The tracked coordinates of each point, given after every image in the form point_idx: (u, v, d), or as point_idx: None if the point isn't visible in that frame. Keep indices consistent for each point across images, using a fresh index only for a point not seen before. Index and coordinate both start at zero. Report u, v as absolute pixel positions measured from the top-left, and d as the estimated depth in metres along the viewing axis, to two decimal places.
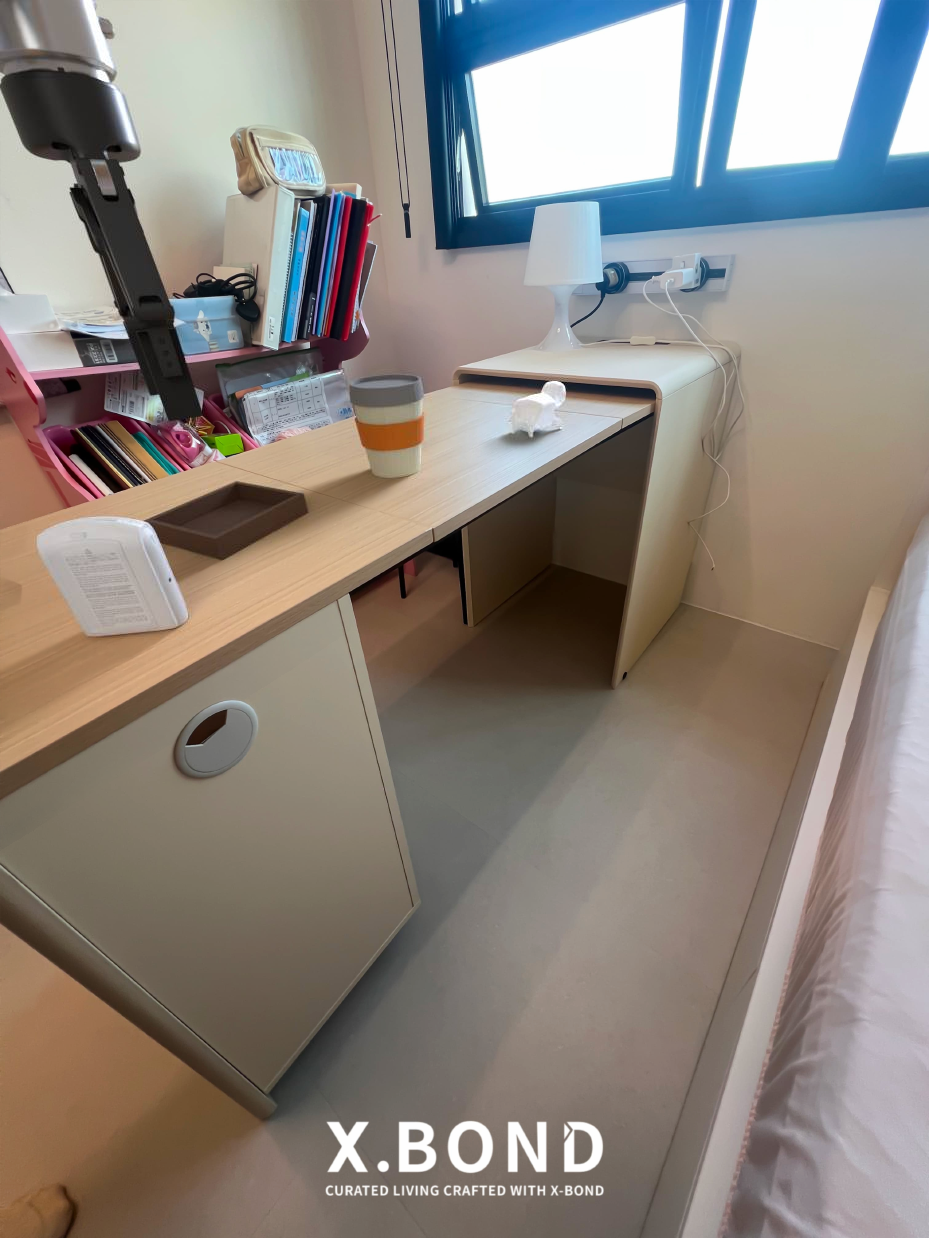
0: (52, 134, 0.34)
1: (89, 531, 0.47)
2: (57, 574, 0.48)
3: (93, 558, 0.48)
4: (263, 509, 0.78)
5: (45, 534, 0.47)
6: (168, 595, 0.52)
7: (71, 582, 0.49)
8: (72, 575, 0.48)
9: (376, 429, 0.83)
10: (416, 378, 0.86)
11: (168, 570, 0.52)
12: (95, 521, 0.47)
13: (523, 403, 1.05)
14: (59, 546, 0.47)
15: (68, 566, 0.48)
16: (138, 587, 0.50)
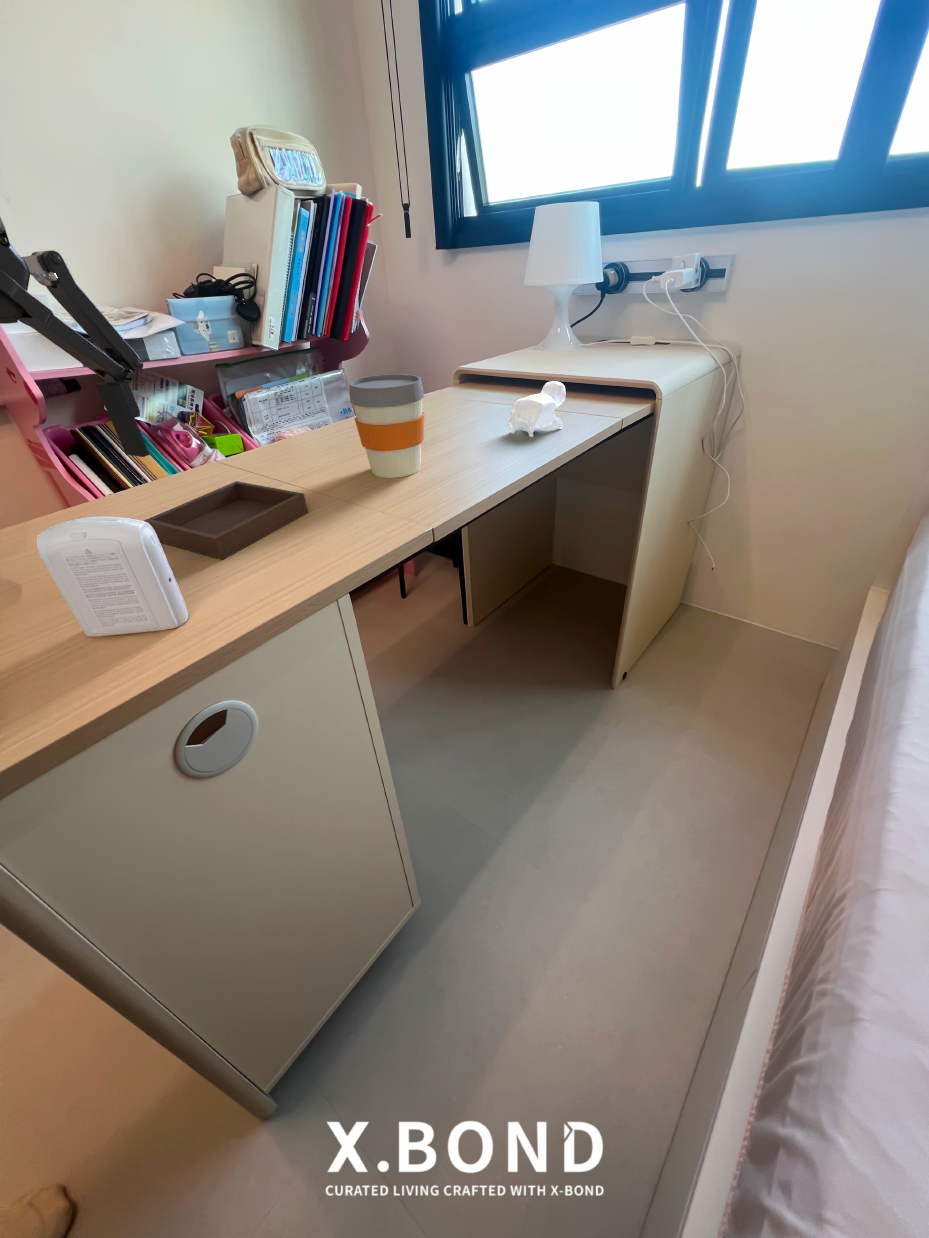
0: None
1: (89, 531, 0.47)
2: (57, 574, 0.48)
3: (93, 558, 0.48)
4: (263, 509, 0.78)
5: (45, 534, 0.47)
6: (168, 595, 0.52)
7: (71, 582, 0.49)
8: (72, 575, 0.48)
9: (376, 429, 0.83)
10: (416, 378, 0.86)
11: (168, 570, 0.52)
12: (95, 521, 0.47)
13: (523, 403, 1.05)
14: (59, 546, 0.47)
15: (68, 566, 0.48)
16: (138, 587, 0.50)
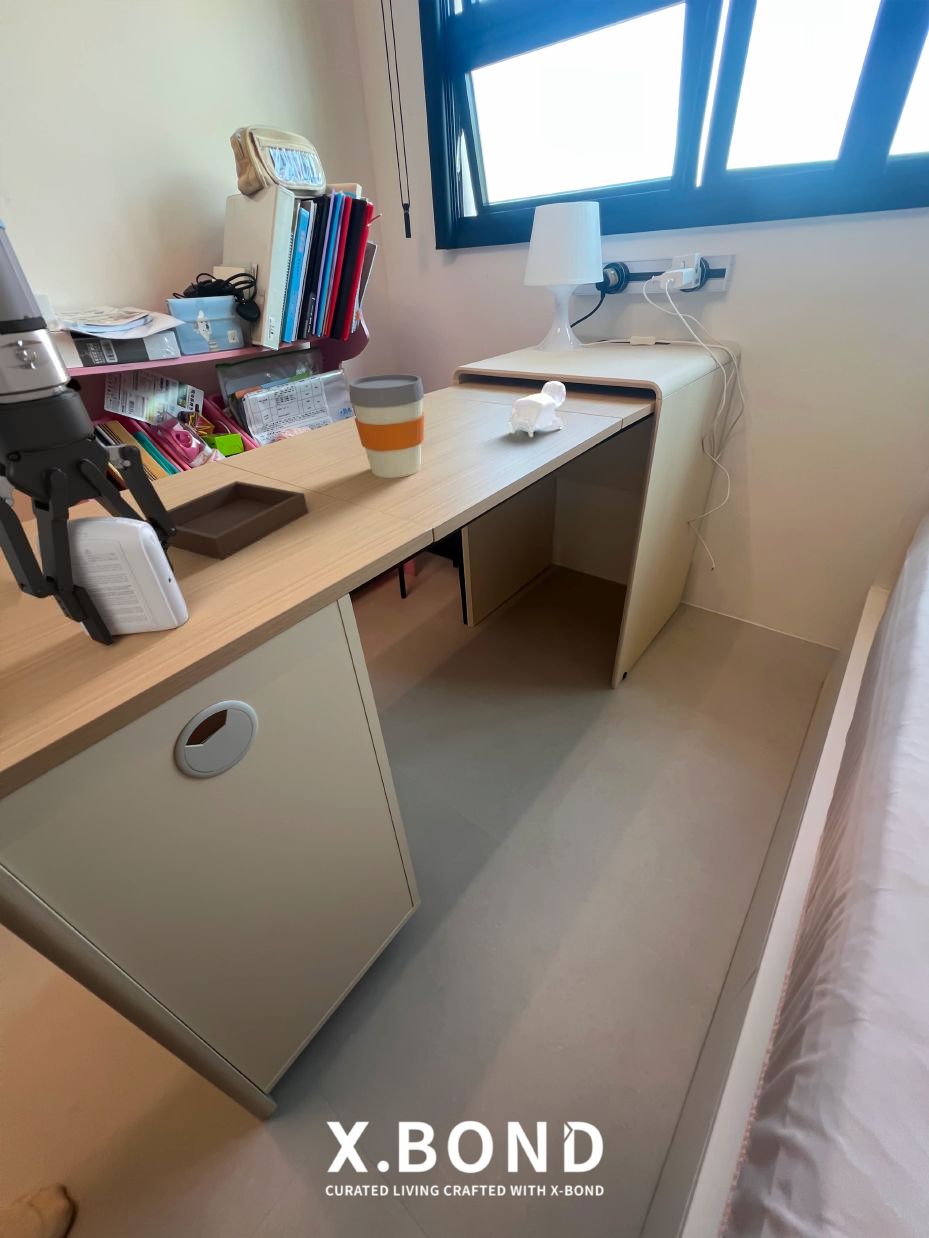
0: None
1: (89, 531, 0.47)
2: None
3: (93, 558, 0.48)
4: (263, 509, 0.78)
5: None
6: (168, 595, 0.52)
7: None
8: (72, 576, 0.48)
9: (376, 429, 0.83)
10: (416, 378, 0.86)
11: (168, 570, 0.52)
12: (95, 521, 0.47)
13: (523, 403, 1.05)
14: None
15: None
16: (137, 587, 0.50)
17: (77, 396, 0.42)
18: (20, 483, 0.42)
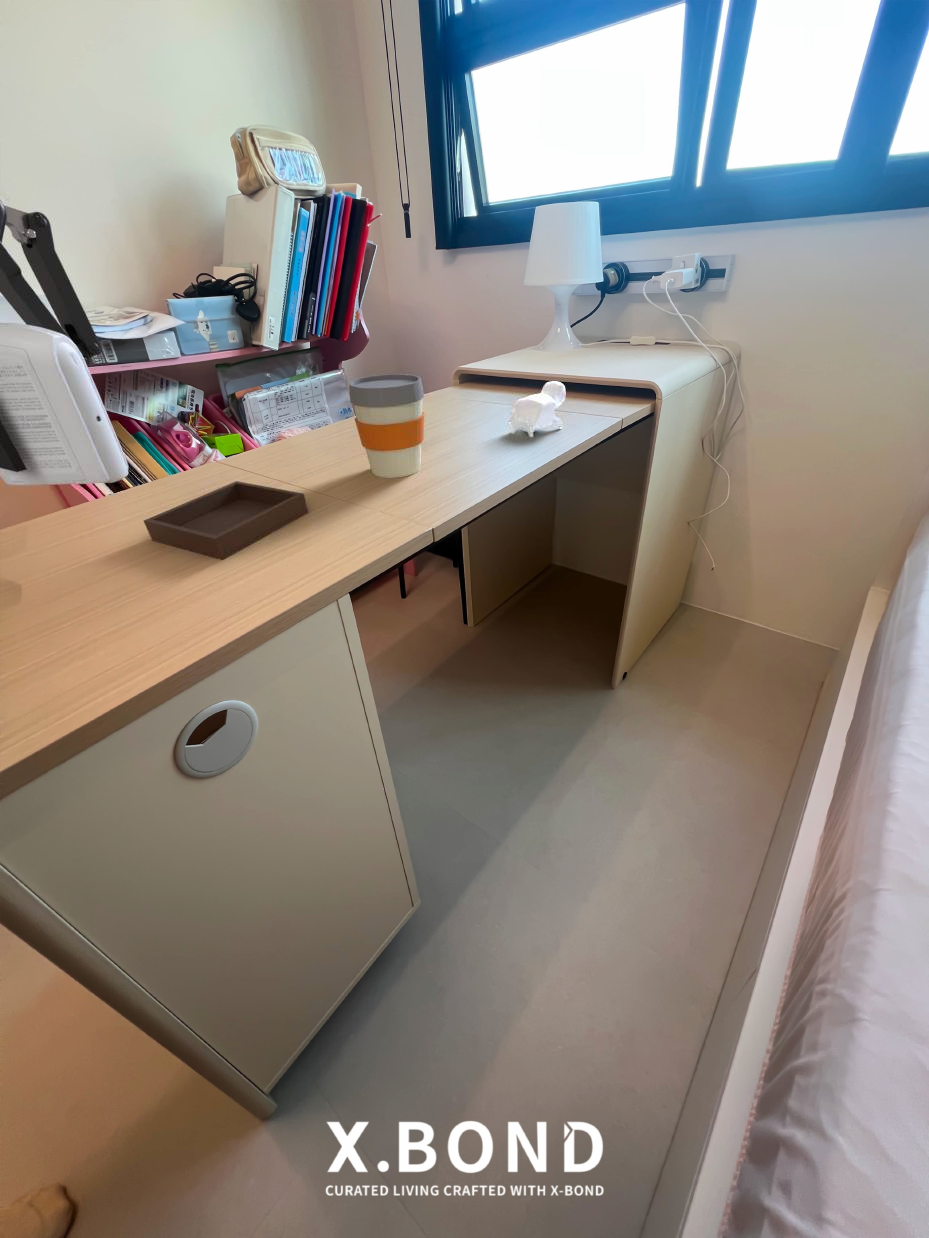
0: None
1: None
2: None
3: None
4: (263, 509, 0.78)
5: None
6: (96, 437, 0.43)
7: None
8: None
9: (376, 429, 0.83)
10: (416, 378, 0.86)
11: (97, 406, 0.42)
12: (0, 324, 0.38)
13: (523, 403, 1.05)
14: None
15: None
16: (54, 419, 0.41)
17: None
18: None
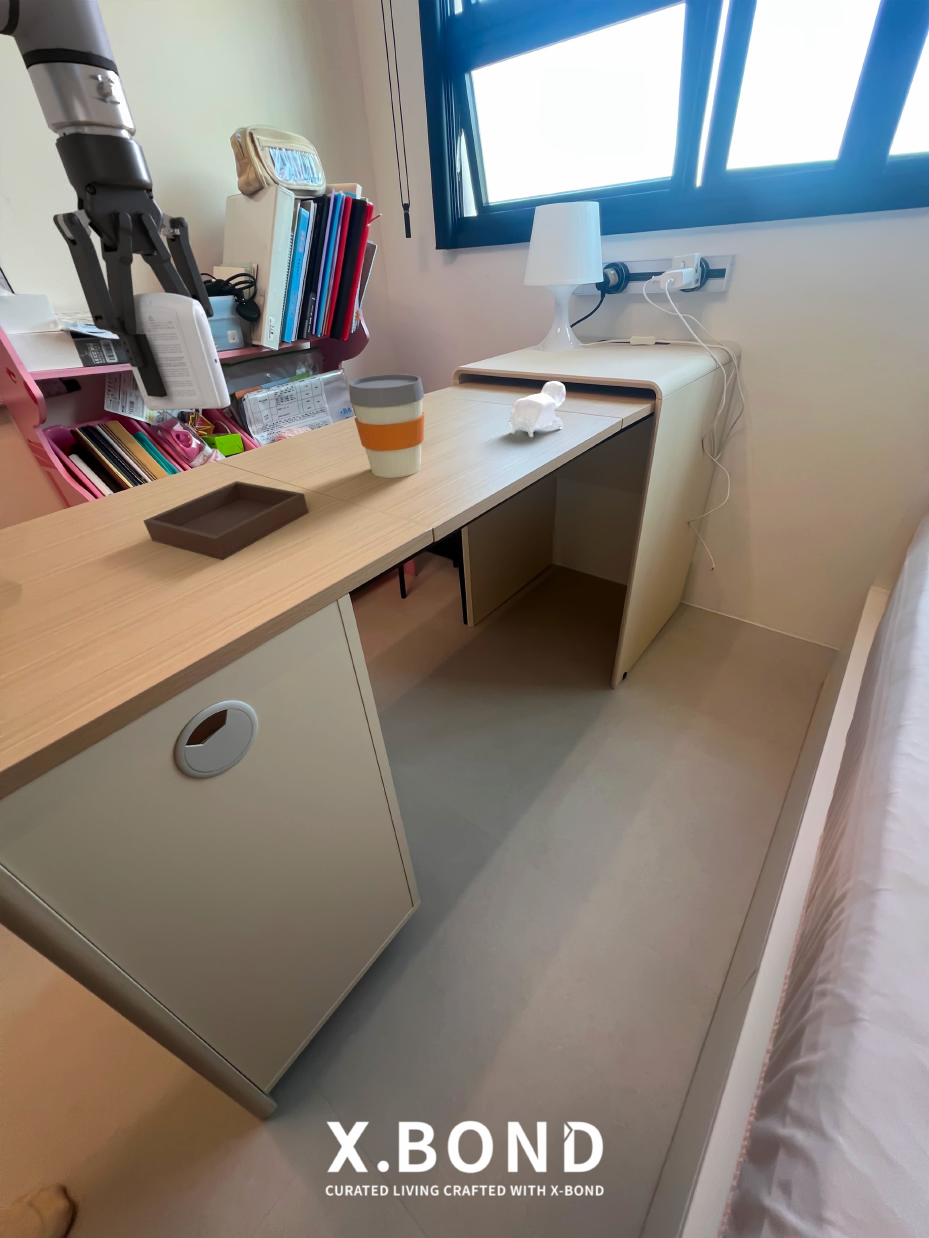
0: (69, 181, 0.50)
1: (153, 300, 0.56)
2: None
3: (155, 325, 0.57)
4: (263, 509, 0.78)
5: None
6: (214, 374, 0.61)
7: None
8: None
9: (376, 429, 0.83)
10: (416, 378, 0.86)
11: (215, 352, 0.61)
12: (158, 293, 0.57)
13: (523, 403, 1.05)
14: None
15: None
16: (189, 359, 0.59)
17: (141, 147, 0.51)
18: (95, 216, 0.50)
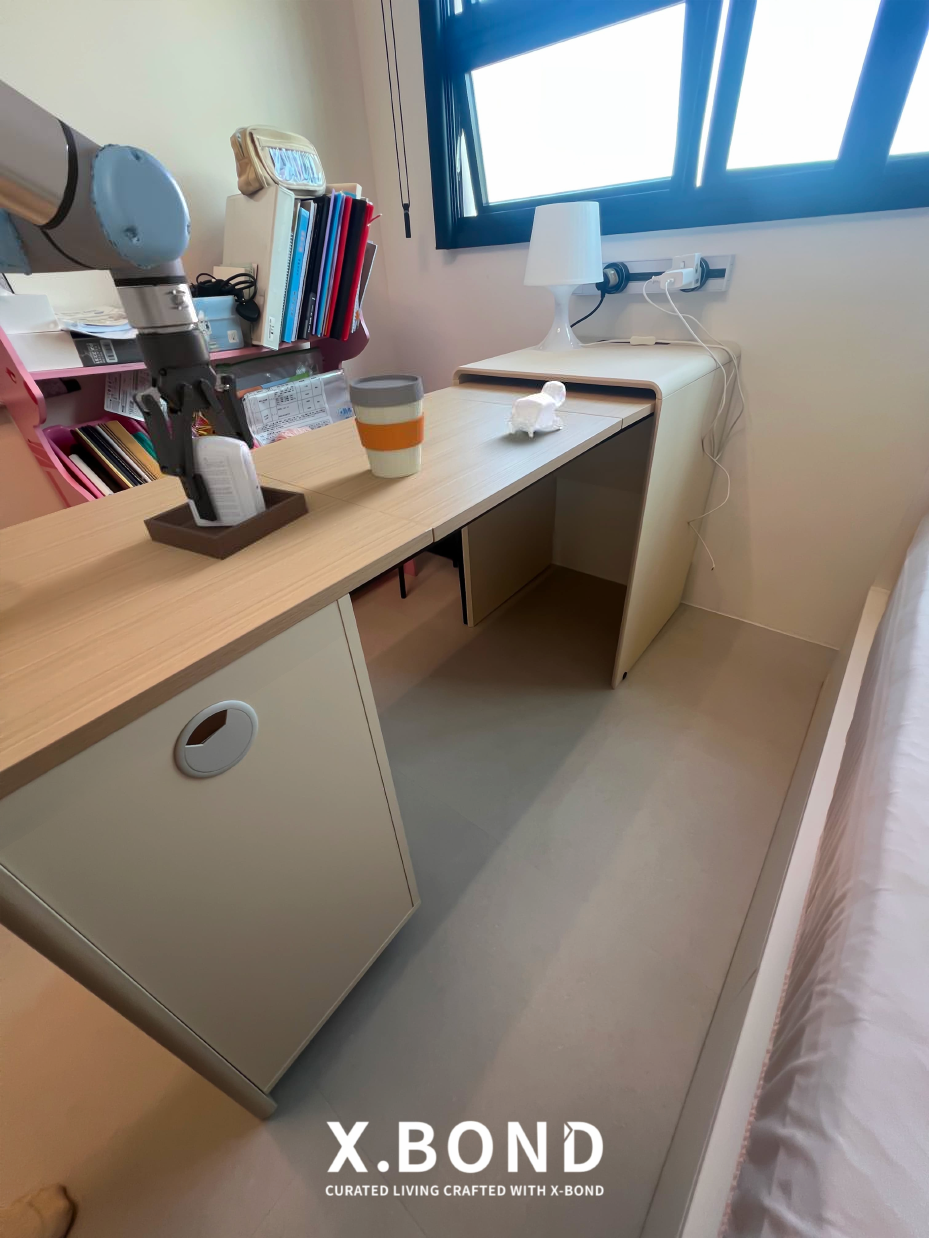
0: (144, 363, 0.61)
1: (207, 444, 0.67)
2: None
3: (208, 464, 0.68)
4: None
5: None
6: (255, 498, 0.72)
7: None
8: None
9: (376, 429, 0.83)
10: (416, 378, 0.86)
11: (256, 480, 0.71)
12: (211, 438, 0.67)
13: (523, 403, 1.05)
14: None
15: None
16: (235, 489, 0.70)
17: (202, 332, 0.62)
18: (165, 391, 0.61)
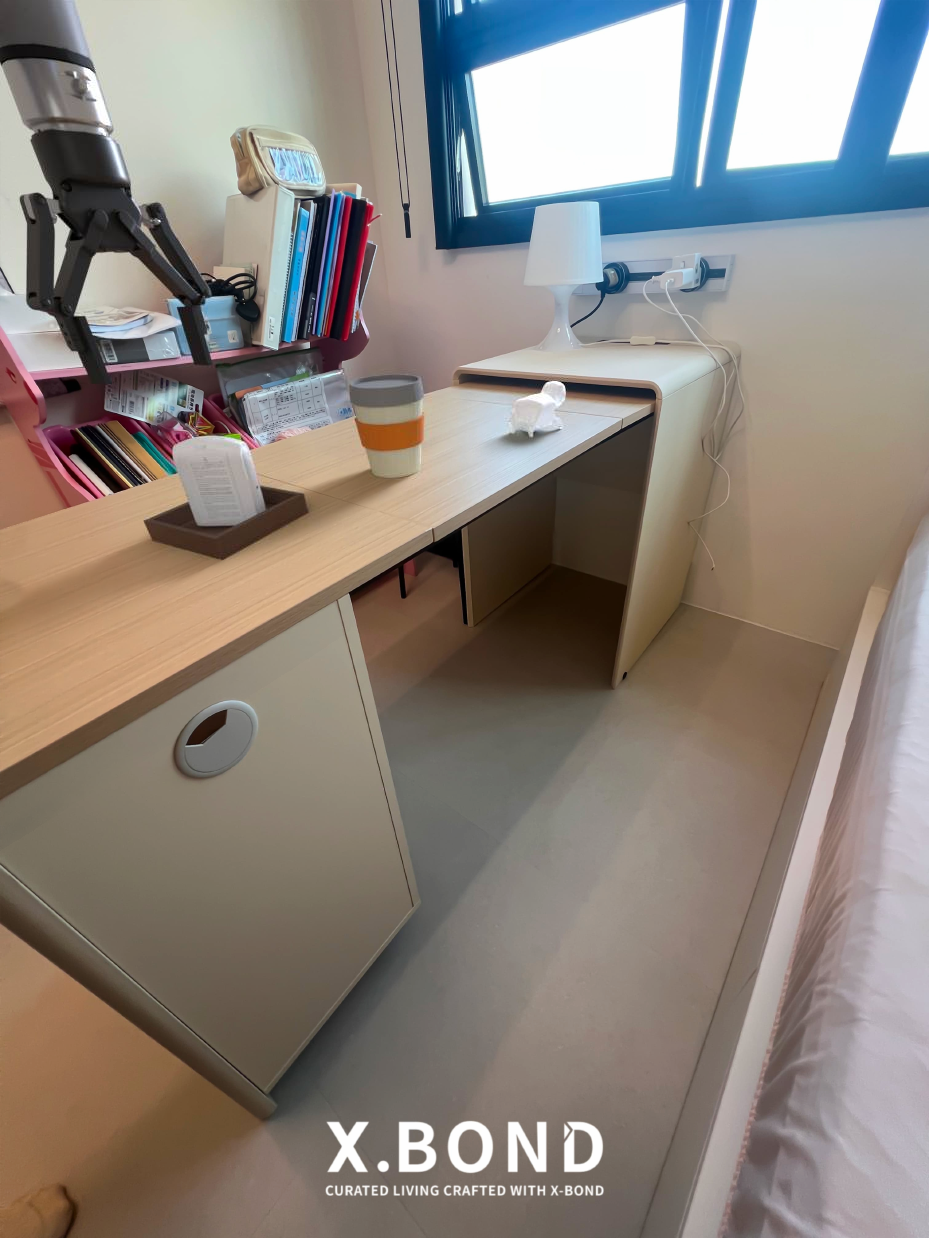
0: None
1: (207, 444, 0.67)
2: (183, 475, 0.69)
3: (208, 464, 0.68)
4: None
5: (178, 445, 0.67)
6: (255, 498, 0.72)
7: (192, 482, 0.69)
8: (193, 477, 0.69)
9: (376, 429, 0.83)
10: (416, 378, 0.86)
11: (256, 480, 0.71)
12: (211, 438, 0.67)
13: (523, 403, 1.05)
14: (187, 454, 0.67)
15: (191, 469, 0.68)
16: (235, 489, 0.70)
17: (118, 145, 0.51)
18: (68, 209, 0.50)
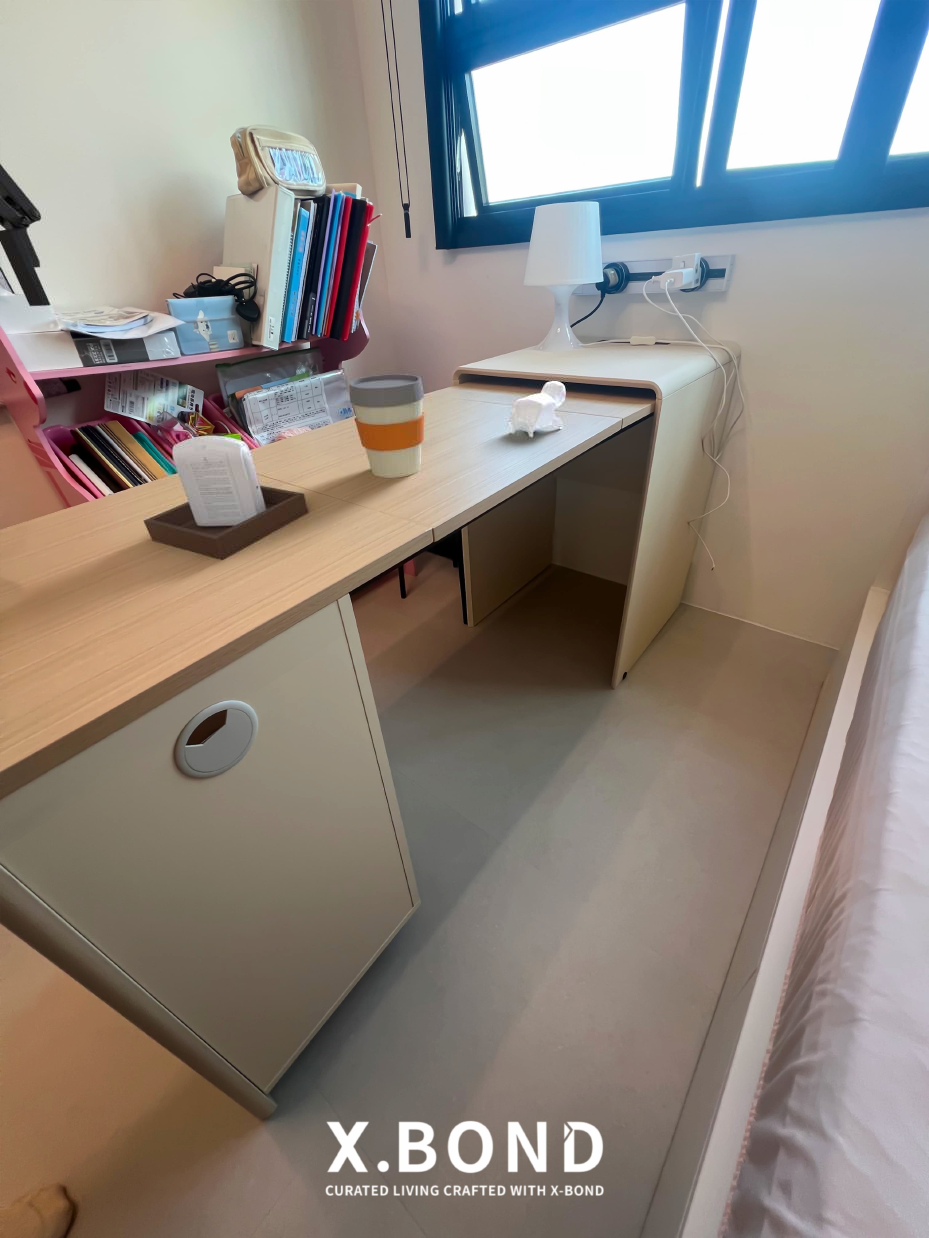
0: None
1: (207, 444, 0.67)
2: (183, 475, 0.69)
3: (208, 464, 0.68)
4: None
5: (178, 445, 0.67)
6: (255, 498, 0.72)
7: (192, 482, 0.69)
8: (193, 477, 0.69)
9: (376, 429, 0.83)
10: (416, 378, 0.86)
11: (256, 480, 0.71)
12: (211, 438, 0.67)
13: (523, 403, 1.05)
14: (187, 454, 0.67)
15: (191, 469, 0.68)
16: (235, 489, 0.70)
17: None
18: None
